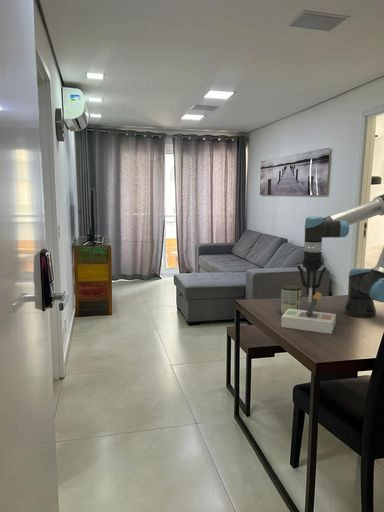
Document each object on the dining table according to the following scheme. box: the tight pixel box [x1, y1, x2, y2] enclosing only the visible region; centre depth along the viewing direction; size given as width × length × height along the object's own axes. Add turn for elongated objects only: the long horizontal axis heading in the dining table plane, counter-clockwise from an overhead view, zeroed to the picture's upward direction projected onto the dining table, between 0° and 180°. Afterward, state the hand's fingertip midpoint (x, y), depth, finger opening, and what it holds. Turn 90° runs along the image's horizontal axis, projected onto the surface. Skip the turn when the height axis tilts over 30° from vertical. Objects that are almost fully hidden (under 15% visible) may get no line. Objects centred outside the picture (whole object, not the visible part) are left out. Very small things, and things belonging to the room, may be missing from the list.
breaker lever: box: [306, 291, 323, 316], centre depth 175 cm, size 3×6×11 cm, turn 153°
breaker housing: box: [280, 309, 337, 335], centre depth 177 cm, size 22×14×5 cm, turn 63°
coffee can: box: [280, 283, 303, 315], centre depth 197 cm, size 10×10×14 cm
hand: (310, 301), depth 176 cm, fingers closed
